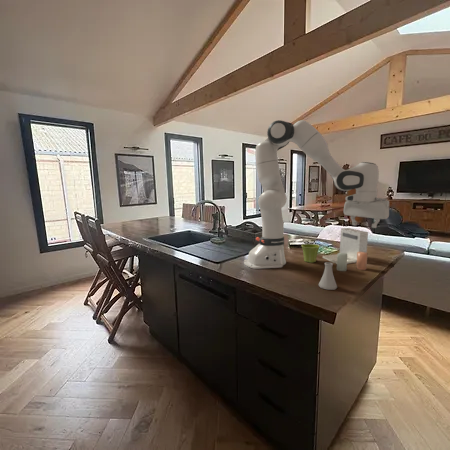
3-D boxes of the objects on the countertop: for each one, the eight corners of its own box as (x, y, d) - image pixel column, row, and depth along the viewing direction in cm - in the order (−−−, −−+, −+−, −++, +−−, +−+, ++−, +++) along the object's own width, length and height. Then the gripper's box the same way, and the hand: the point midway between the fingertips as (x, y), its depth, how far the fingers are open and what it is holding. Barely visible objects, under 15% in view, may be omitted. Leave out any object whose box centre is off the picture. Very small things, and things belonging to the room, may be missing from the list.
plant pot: (299, 258, 145) (300, 243, 143) (317, 258, 143) (317, 243, 142) (302, 263, 136) (302, 247, 134) (320, 264, 134) (321, 248, 133)
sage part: (341, 271, 122) (341, 255, 121) (334, 268, 127) (335, 253, 125) (348, 270, 124) (349, 254, 122) (342, 267, 128) (342, 252, 126)
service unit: (339, 265, 132) (341, 234, 129) (321, 257, 145) (323, 230, 143) (366, 261, 137) (368, 232, 134) (347, 254, 150) (348, 227, 148)
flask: (337, 291, 101) (338, 267, 99) (318, 289, 103) (319, 265, 102) (336, 284, 107) (338, 261, 106) (318, 282, 110) (319, 260, 108)
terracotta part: (361, 270, 123) (362, 254, 122) (354, 267, 127) (355, 252, 126) (368, 269, 125) (369, 253, 123) (361, 266, 129) (362, 251, 127)
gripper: (393, 198, 114) (390, 228, 116) (350, 196, 131) (348, 223, 133) (385, 198, 110) (383, 230, 113) (342, 197, 127) (340, 224, 130)
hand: (364, 226), depth 123 cm, fingers open, 8 cm apart
